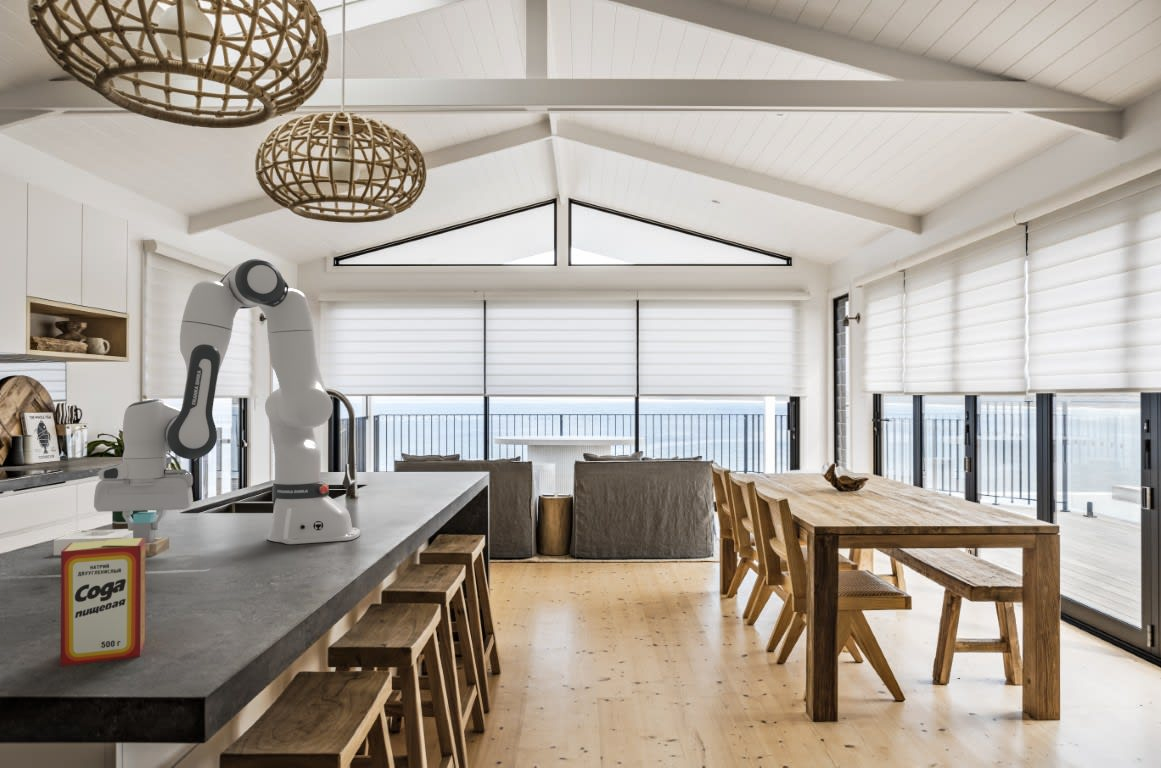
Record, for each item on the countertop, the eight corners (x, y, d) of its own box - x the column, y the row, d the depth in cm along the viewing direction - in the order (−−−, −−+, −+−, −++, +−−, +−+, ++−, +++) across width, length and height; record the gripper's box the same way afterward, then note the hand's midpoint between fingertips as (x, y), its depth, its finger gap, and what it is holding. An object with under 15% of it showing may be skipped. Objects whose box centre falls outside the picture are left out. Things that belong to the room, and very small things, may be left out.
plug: (155, 550, 179) (155, 511, 179) (149, 553, 176) (149, 514, 176) (139, 550, 179) (139, 512, 179) (132, 553, 175) (133, 514, 175)
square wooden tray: (169, 550, 182) (169, 537, 182) (156, 557, 174) (156, 544, 174) (132, 551, 180) (132, 538, 180) (118, 558, 173) (118, 545, 173)
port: (141, 544, 188) (141, 527, 188) (120, 555, 176) (120, 536, 176) (78, 546, 186) (79, 529, 186) (53, 557, 174) (53, 538, 174)
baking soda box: (60, 666, 105) (61, 548, 105) (69, 651, 111) (70, 540, 111) (140, 656, 109) (140, 543, 109) (145, 642, 115) (145, 535, 115)
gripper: (197, 467, 182) (197, 526, 182) (103, 469, 179) (103, 528, 179) (188, 470, 176) (188, 530, 176) (90, 472, 173) (90, 533, 172)
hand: (144, 529), depth 177 cm, fingers closed on plug, 3 cm apart
